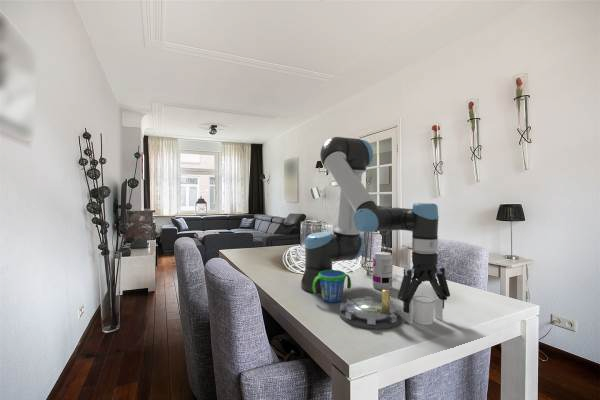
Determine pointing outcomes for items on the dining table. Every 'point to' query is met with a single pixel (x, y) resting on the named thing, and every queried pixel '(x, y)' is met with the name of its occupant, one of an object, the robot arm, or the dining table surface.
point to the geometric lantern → (370, 248)
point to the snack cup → (332, 284)
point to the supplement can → (382, 270)
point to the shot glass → (423, 309)
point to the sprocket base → (369, 326)
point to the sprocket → (371, 309)
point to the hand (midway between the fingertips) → (423, 320)
